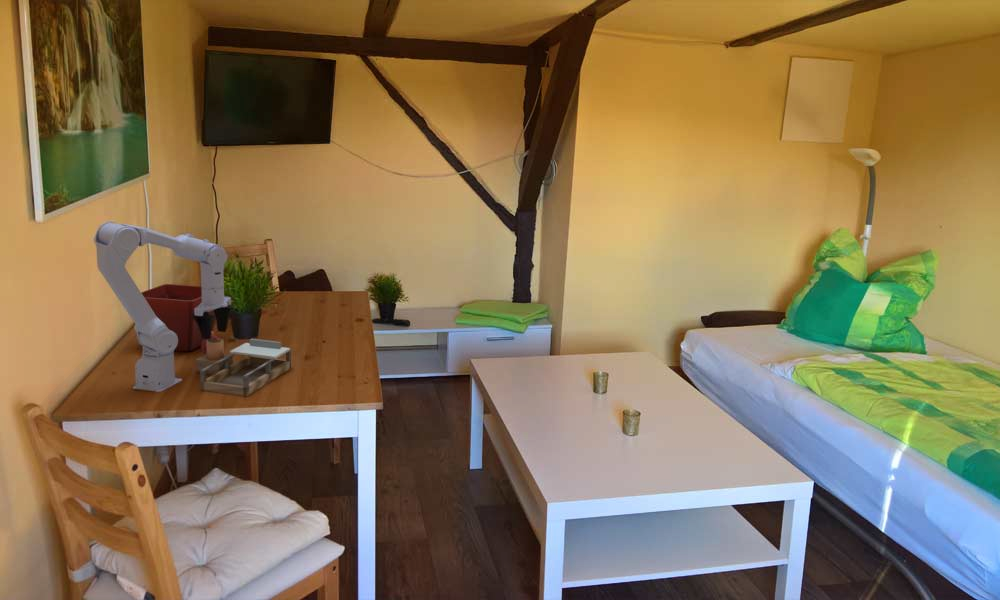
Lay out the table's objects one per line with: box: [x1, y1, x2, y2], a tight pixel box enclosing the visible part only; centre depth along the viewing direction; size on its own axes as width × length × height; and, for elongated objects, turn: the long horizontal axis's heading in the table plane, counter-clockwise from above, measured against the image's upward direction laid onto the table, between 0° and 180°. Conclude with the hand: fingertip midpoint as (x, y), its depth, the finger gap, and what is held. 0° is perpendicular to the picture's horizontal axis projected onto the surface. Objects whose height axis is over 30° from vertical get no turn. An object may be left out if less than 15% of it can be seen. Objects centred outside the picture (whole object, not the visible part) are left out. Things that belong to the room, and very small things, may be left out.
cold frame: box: [199, 350, 292, 397], centre depth 199 cm, size 24×13×6 cm, turn 169°
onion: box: [200, 330, 220, 355], centre depth 215 cm, size 6×6×8 cm
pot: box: [206, 337, 225, 360], centre depth 203 cm, size 4×4×5 cm
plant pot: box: [140, 283, 217, 352], centre depth 224 cm, size 19×19×17 cm
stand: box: [194, 353, 234, 375], centre depth 204 cm, size 7×7×4 cm
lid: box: [229, 338, 291, 359], centre depth 204 cm, size 8×14×2 cm, turn 79°
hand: (214, 335), depth 203 cm, fingers open, 7 cm apart
